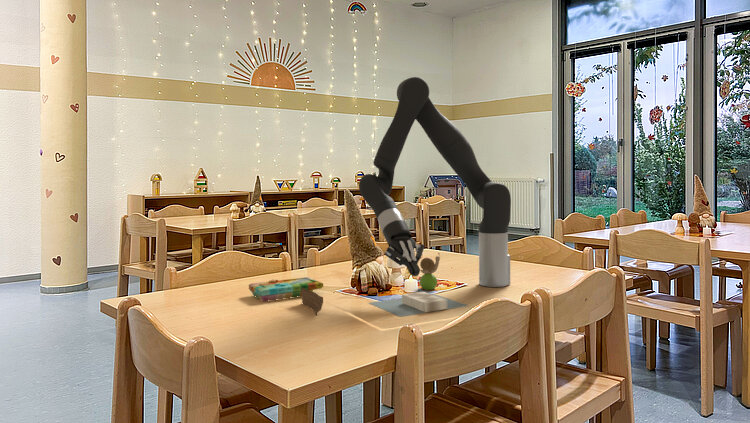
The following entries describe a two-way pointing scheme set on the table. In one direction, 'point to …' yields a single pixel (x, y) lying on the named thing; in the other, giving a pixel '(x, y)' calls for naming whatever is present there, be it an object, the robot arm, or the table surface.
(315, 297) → the wood plank
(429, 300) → the picture domino
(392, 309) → the felt mat
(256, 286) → the puzzle game
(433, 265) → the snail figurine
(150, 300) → the table surface
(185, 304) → the table surface
